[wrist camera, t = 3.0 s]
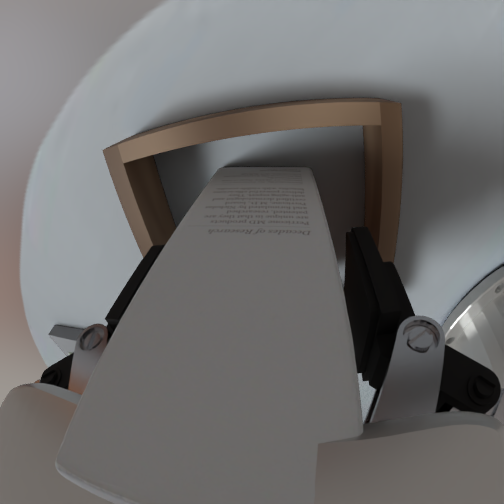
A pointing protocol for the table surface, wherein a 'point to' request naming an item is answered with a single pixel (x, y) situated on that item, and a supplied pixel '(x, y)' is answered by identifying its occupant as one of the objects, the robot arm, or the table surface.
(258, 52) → the table surface
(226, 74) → the table surface
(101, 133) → the table surface
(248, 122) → the walnut cubby
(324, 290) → the skincare box
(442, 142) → the table surface
